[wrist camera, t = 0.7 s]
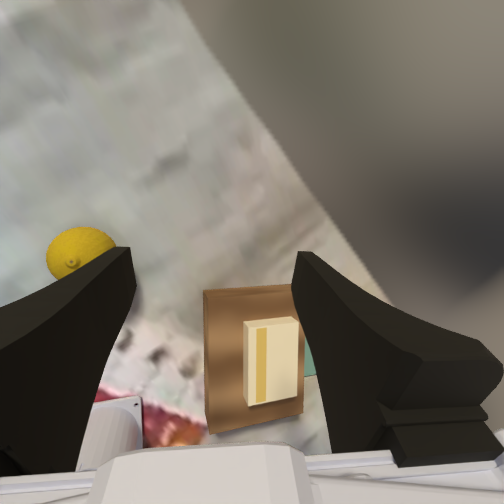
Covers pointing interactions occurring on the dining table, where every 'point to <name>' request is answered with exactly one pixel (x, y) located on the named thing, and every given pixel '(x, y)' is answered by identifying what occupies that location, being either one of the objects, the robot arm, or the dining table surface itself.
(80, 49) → the dining table surface
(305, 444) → the dining table surface
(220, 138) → the dining table surface
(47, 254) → the lemon
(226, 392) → the brown wooden flat block
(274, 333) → the cream rectangular block
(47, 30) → the dining table surface
